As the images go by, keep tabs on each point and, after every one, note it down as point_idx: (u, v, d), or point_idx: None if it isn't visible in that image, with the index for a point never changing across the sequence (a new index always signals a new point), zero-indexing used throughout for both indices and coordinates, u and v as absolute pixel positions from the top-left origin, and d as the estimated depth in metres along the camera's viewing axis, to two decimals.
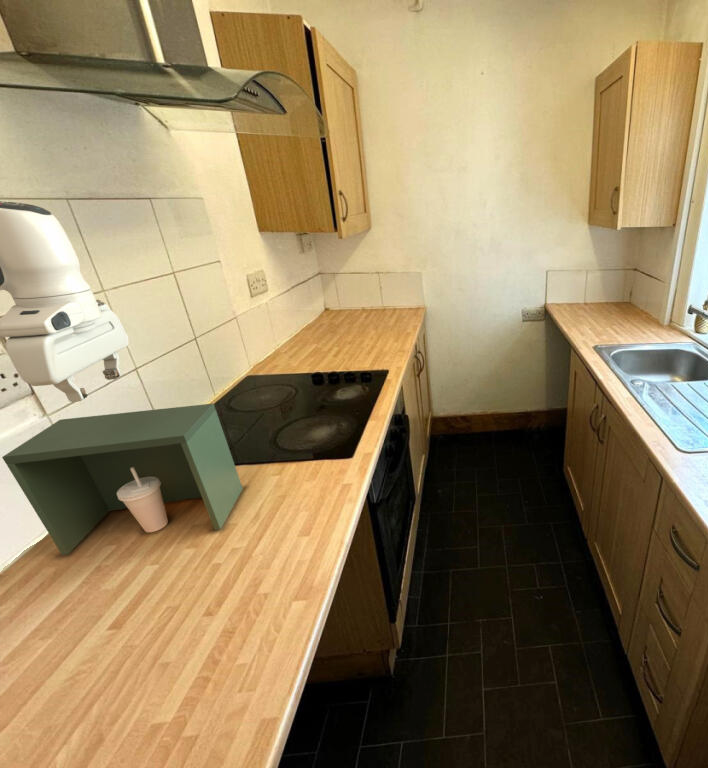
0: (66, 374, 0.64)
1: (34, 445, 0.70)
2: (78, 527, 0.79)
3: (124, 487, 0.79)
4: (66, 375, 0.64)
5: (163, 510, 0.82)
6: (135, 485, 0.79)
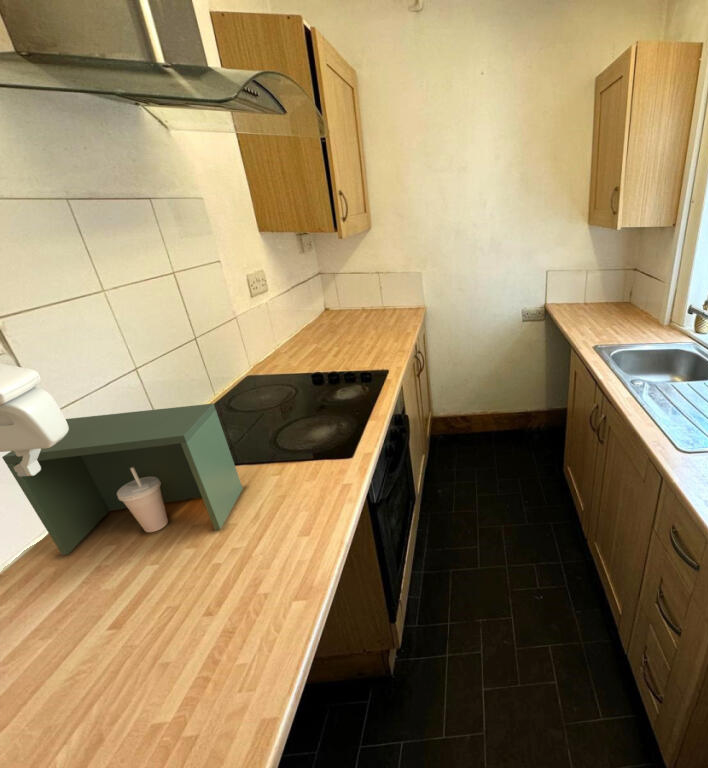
0: None
1: None
2: (78, 527, 0.79)
3: (124, 487, 0.79)
4: None
5: (163, 510, 0.82)
6: (135, 485, 0.79)
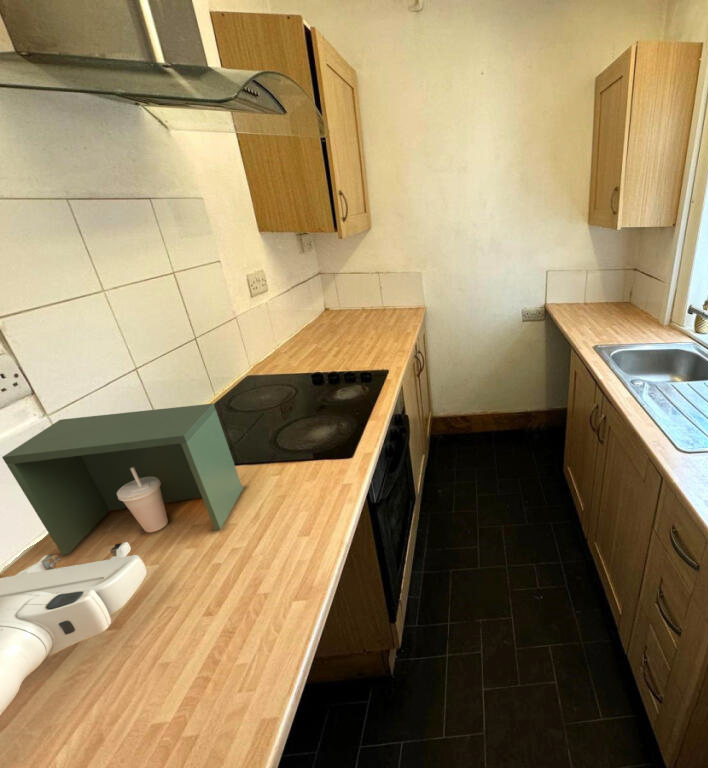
0: (118, 559, 0.62)
1: (34, 445, 0.70)
2: (78, 527, 0.79)
3: (124, 487, 0.79)
4: (119, 558, 0.63)
5: (163, 510, 0.82)
6: (135, 485, 0.79)
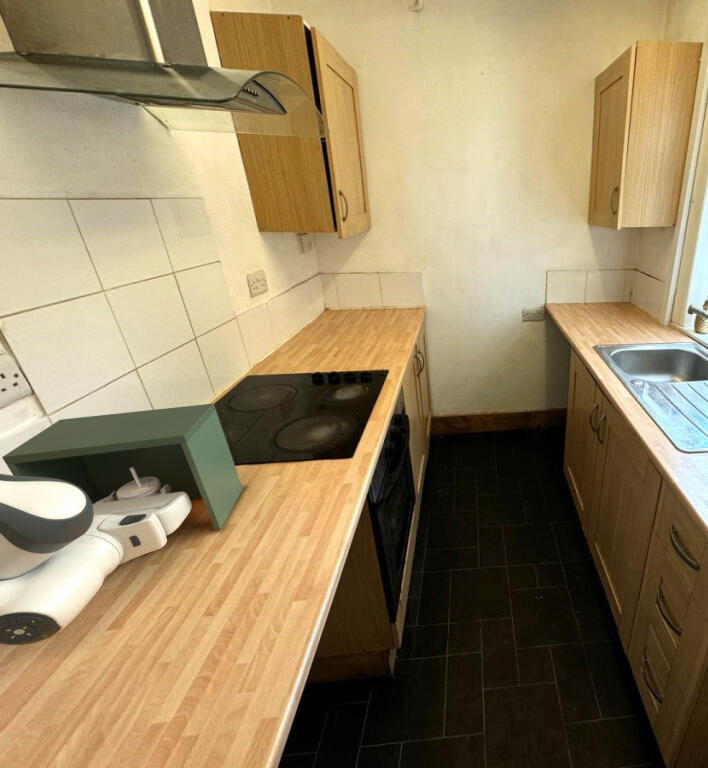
0: (169, 494, 0.76)
1: (34, 445, 0.70)
2: None
3: (124, 487, 0.79)
4: (170, 494, 0.77)
5: None
6: (135, 485, 0.79)
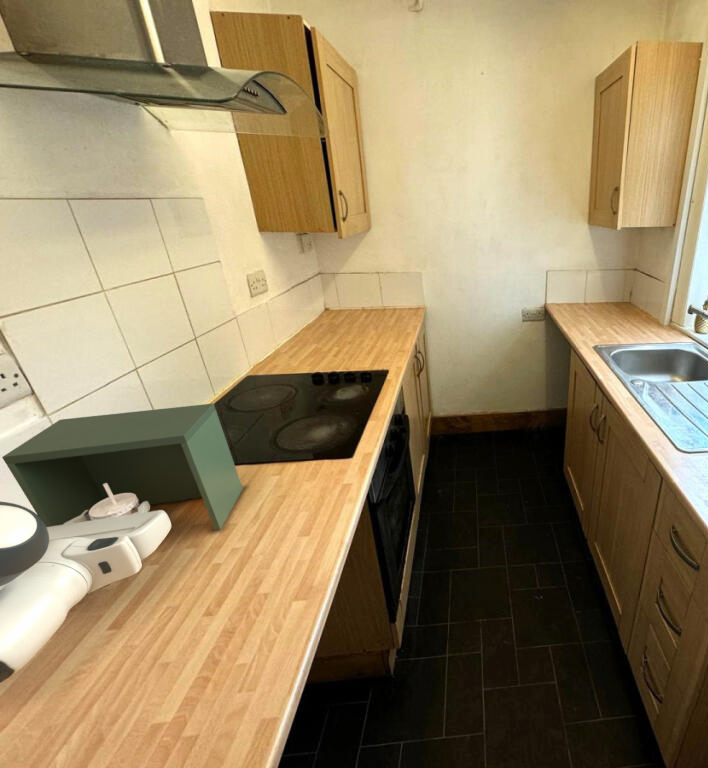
0: (146, 513, 0.70)
1: (34, 445, 0.70)
2: None
3: (97, 505, 0.72)
4: (147, 512, 0.70)
5: None
6: (109, 503, 0.72)
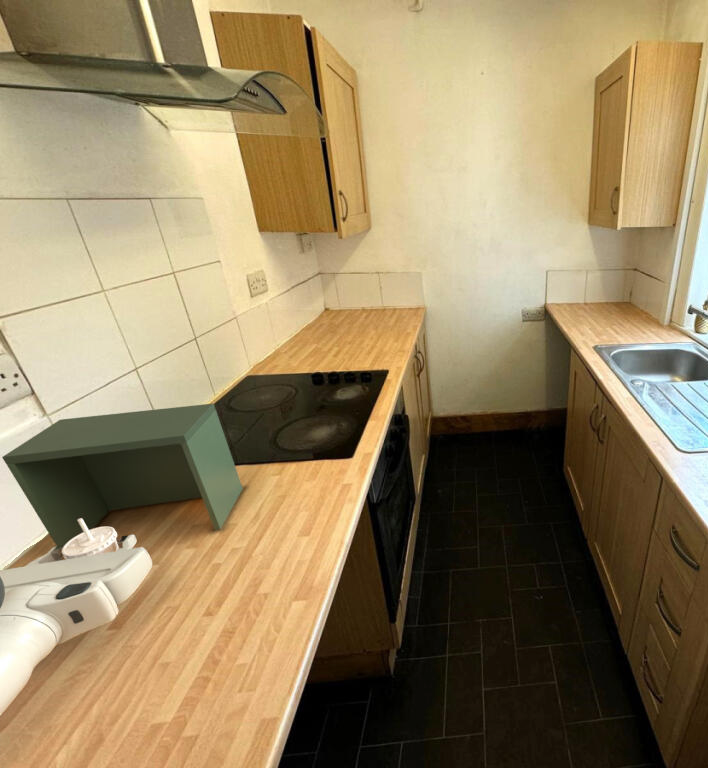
0: (124, 551, 0.64)
1: (34, 445, 0.70)
2: (78, 527, 0.79)
3: (72, 541, 0.66)
4: (126, 550, 0.64)
5: None
6: (85, 539, 0.66)
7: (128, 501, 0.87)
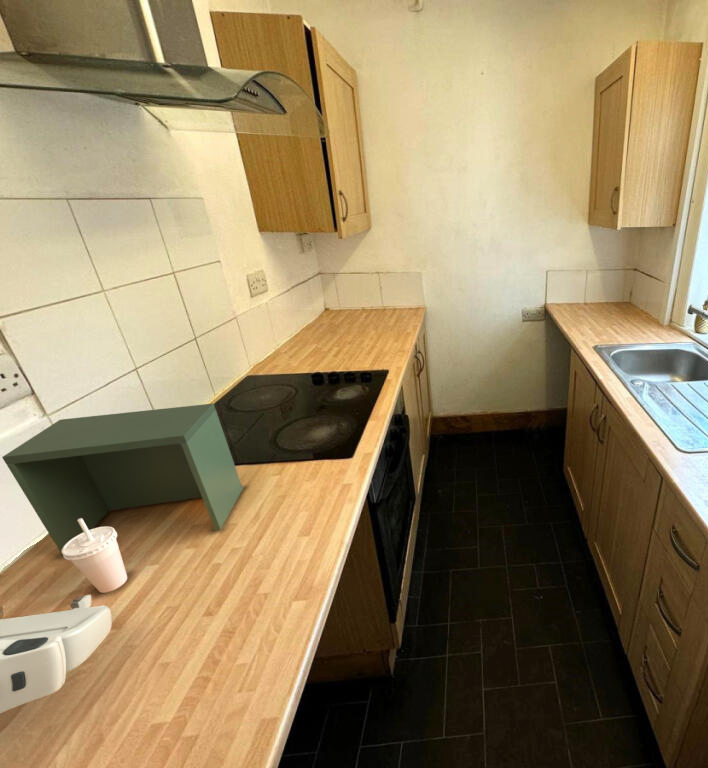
0: (84, 609, 0.56)
1: (34, 445, 0.70)
2: (78, 527, 0.79)
3: (72, 541, 0.66)
4: (85, 609, 0.56)
5: (120, 566, 0.70)
6: (85, 539, 0.66)
7: (128, 501, 0.87)
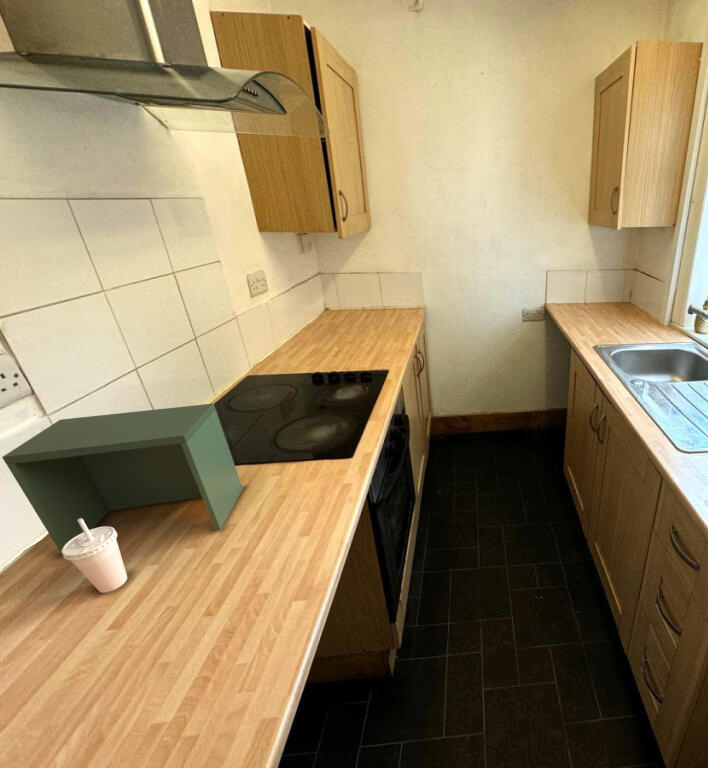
0: None
1: (34, 445, 0.70)
2: (78, 527, 0.79)
3: (72, 541, 0.66)
4: None
5: (120, 566, 0.70)
6: (85, 539, 0.66)
7: (128, 501, 0.87)
